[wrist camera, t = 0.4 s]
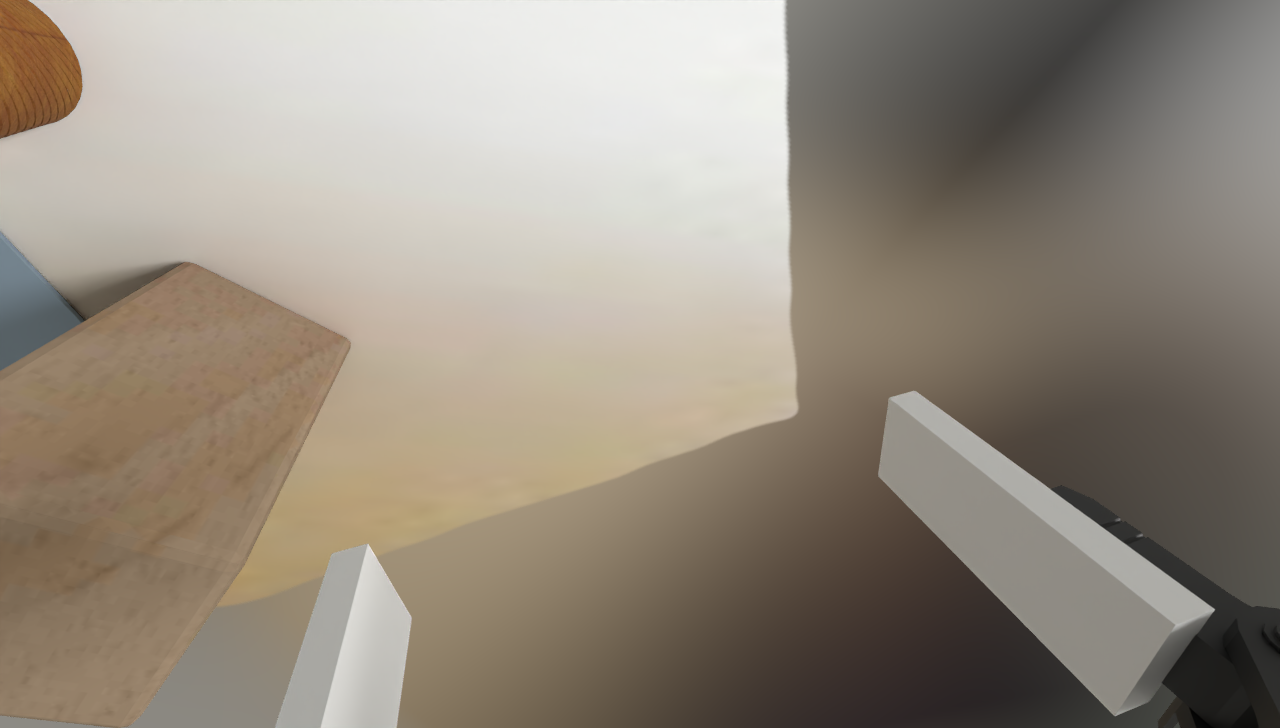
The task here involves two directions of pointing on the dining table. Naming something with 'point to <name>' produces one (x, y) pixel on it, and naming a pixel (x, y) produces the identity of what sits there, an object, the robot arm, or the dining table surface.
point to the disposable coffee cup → (34, 69)
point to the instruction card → (28, 307)
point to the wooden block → (142, 484)
